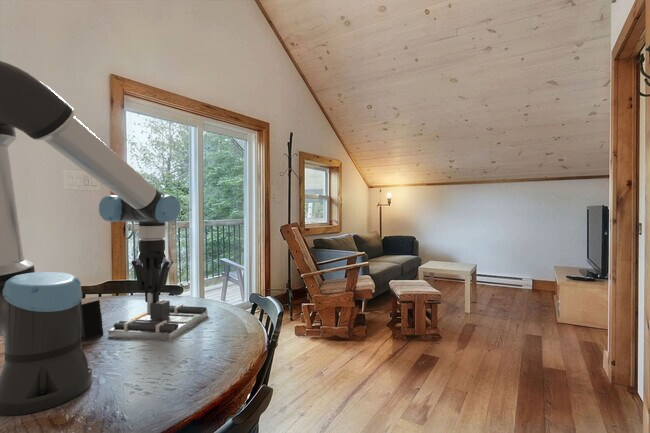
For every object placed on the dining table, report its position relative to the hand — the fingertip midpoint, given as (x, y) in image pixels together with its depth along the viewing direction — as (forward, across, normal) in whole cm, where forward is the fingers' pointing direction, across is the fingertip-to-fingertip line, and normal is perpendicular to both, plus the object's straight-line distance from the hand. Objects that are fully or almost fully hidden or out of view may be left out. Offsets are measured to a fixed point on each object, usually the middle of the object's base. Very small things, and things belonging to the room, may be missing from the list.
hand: (152, 312), depth 106 cm
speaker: (+4, +12, +12) cm, 17 cm away
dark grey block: (+2, -3, 0) cm, 3 cm away
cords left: (+2, -5, +9) cm, 10 cm away
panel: (+4, -4, +1) cm, 6 cm away
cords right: (+2, -5, -8) cm, 9 cm away
